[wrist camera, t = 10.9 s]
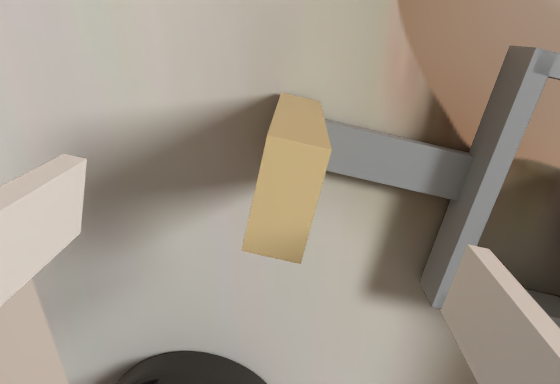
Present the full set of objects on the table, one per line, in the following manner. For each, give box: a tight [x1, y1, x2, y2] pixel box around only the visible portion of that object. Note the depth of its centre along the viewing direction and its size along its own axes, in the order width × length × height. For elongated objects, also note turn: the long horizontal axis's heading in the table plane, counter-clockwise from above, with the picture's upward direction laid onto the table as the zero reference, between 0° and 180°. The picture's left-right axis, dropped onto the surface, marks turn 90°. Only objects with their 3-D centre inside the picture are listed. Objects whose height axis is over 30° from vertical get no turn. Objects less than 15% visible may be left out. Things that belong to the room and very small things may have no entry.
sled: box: [242, 46, 560, 328], centre depth 24 cm, size 16×30×12 cm, turn 77°
